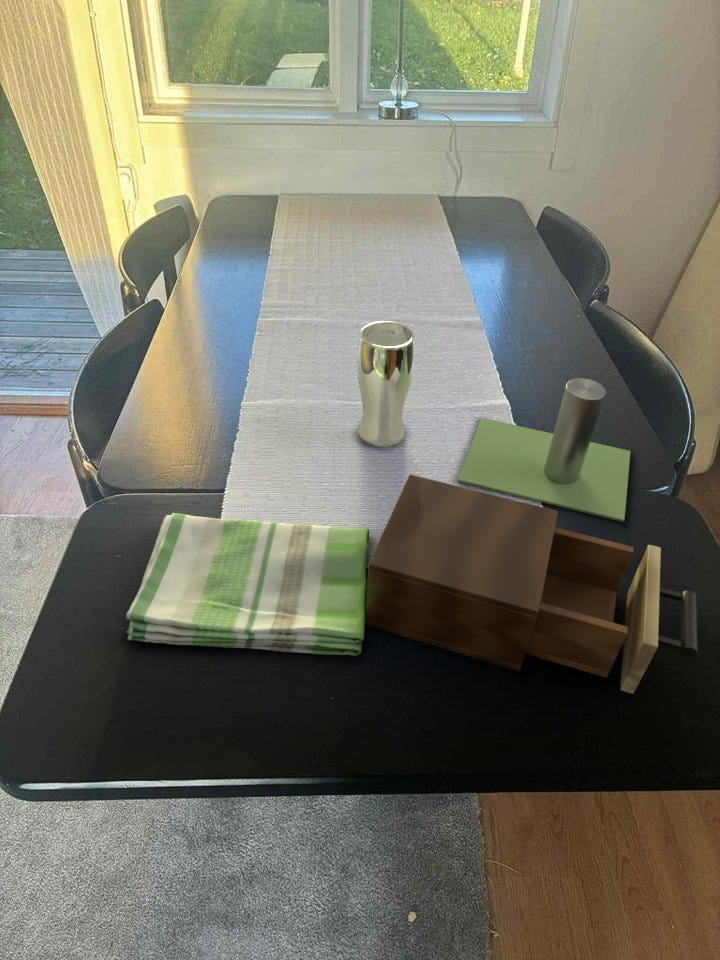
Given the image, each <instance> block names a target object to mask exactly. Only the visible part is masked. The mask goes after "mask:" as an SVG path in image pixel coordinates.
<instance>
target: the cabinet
mask: <svg viewBox="0 0 720 960" xmlns="http://www.w3.org/2000/svg"><path fill="white" fill-rule="evenodd" d="M405 481H406V482H405V484H404V486H403V488H402V490H401V492H400V495H399V496H398V498H397V501H396V503H395V505H394V508H393V510H392V511H391V514H390V516H389V518H388V521H387V523H386V525H385V527H384V529H383V532H382V533H381V536H380V538H379V540H378V542H377V544H376V547H375V549H374V550H373V554H372V555H371V558H370V560H369V562H368V567H367V568H368V569H367V582H366V599H365V626H367V627H370V628H373V629H377V630H381V631H384V632H386V633H391V634H395V635H398V636H400V637H404V638H408V639H411V640H414V641H417V642H420V643H423V644H427V645H430V646H434V647H437V648H440V649H443V650H446V651H451V652H453V653H457V654H460V655H463V656H467V657H469V658H474V659H477V660H480V661H483V662H486V663H489V664H493V665H496V666H500V667H503V668H506V669H509V670H513V671H516V672H521V670H522V666H523V662H524V660H525V656H526V654H525V653H526V650H527V647H528V644H529V641H530V637H531V634H532V631H533V628H534V625H535V622H536V618H537V615H538V612H539V607H540V602H541V597H542V592H543V587H544V582H545V577H546V571H547V566H548V561H549V556H550V551H551V546H552V541H553V535H554V530H555V527H556V525H557V519H558V514H559V510H556V509H552V508H548V507H544V506H540V505H537V504H536V505H535V504H532V503H528V502H523V501H520V500H515V499H511V498H508V497H503V496H499V495H496V494H491V493H487V492H483V491H479V490H475V489H471V488H466V487H463V486H459V485H456V484H455V485H454V484H451V483H446V482H442V481H438V480H435V479H431V478H427V477H422V476H418V475H414V474H409V475H408V477H407V479H406V480H405Z"/></svg>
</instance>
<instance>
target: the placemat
mask: <svg viewBox="0 0 720 960" xmlns="http://www.w3.org/2000/svg"><path fill="white" fill-rule="evenodd" d="M552 437H553V433H552V432H547V431H543V430H540V429H539V430H538V429H534V428H529V427H525V426H520V425H516V424H511V423H508V422H507V423H506V422H503V421H497V420H493V419H489V418H484V417H481V418H480V421H479V424H478V427H477V429H476V432H475V435H474V437H473V439H472V442H471V445H470V448H469V450H468V453H467V456H466V459H465V461H464V464H463V467H462V469H461V471H460V474H459V477H458V479H457V480H458V483H461V484H465V485H469V486H474V487H478V488H482V489H486V490H490V491H494V492H497V493H502V494H505V495H511V496H515V497H519V498H523V499H526V500H531V501H535V502H539V503H544V504H548V505H552V506H556V507H559V508H562V509H563V508H564V509H568V510H571V511H575V512H580V513H583V514H588V515H592V516H596V517H601V518H604V519H609V520H612V521H616V522H621V523H625V517H626V507H627V497H628V486H629V485H628V484H629V473H630V461H631V450H628V449H625V448H621V447H620V448H619V447H615V446H610V445H605V444H601V443H597V442H594V441H593V442H592V441H590V444H589V447H588V450H587V454H586V457H585V460H584V463H583V466H582V470H581V473H580V476H579V479H578V480H577V481H576V482H574V483H572V484H560V483H556V482H554V481H552V480H550V479H549V478H548V477H547V476H546V475H545V473H544V467H545V463H546V459H547V456H548V452H549V448H550V444H551V441H552Z"/></svg>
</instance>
